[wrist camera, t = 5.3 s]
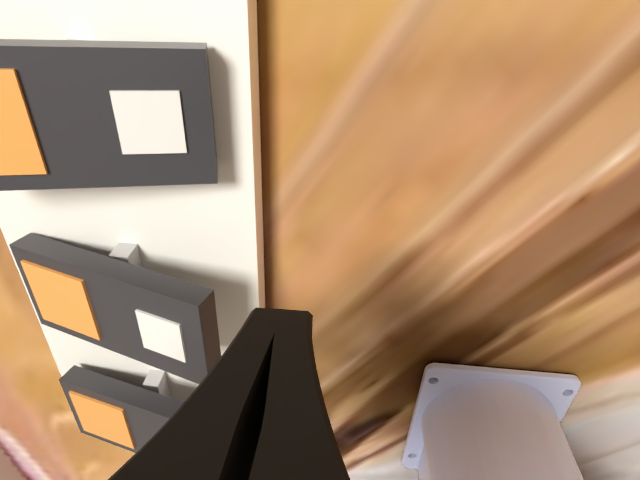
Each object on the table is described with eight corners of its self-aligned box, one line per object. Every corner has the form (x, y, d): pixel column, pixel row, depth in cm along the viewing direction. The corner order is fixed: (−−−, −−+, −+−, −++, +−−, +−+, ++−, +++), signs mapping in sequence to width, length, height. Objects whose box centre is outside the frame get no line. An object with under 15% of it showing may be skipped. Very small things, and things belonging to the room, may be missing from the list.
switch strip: (268, 428, 28) (261, 467, 26) (97, 412, 28) (76, 449, 26) (255, -43, 14) (237, -42, 12) (-78, -62, 15) (-151, -64, 12)
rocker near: (218, 171, 16) (217, 185, 15) (-58, 179, 15) (-77, 195, 14) (206, 43, 14) (205, 49, 13) (-124, 36, 12) (-152, 44, 12)
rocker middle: (222, 370, 19) (207, 390, 18) (59, 310, 21) (38, 325, 20) (213, 289, 16) (196, 308, 15) (30, 232, 19) (6, 246, 18)
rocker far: (236, 468, 23) (225, 489, 22) (93, 417, 25) (79, 434, 25) (230, 417, 21) (218, 438, 20) (74, 365, 23) (56, 381, 22)
